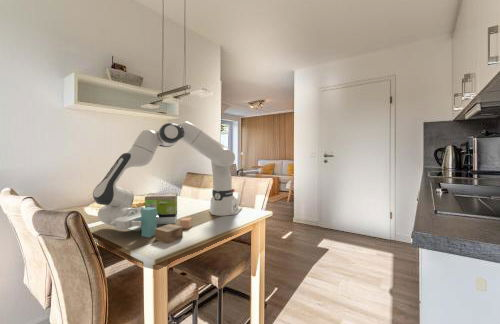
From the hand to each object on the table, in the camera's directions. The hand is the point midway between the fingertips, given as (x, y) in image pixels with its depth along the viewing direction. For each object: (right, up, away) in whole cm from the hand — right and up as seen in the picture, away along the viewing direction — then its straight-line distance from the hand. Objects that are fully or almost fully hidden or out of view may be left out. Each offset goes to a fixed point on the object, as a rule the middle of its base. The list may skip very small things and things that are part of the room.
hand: (150, 220), depth 108 cm
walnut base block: (+10, -7, -4) cm, 12 cm away
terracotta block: (+13, -6, +12) cm, 19 cm away
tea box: (-2, -6, +21) cm, 21 cm away
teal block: (-1, -7, +1) cm, 7 cm away
